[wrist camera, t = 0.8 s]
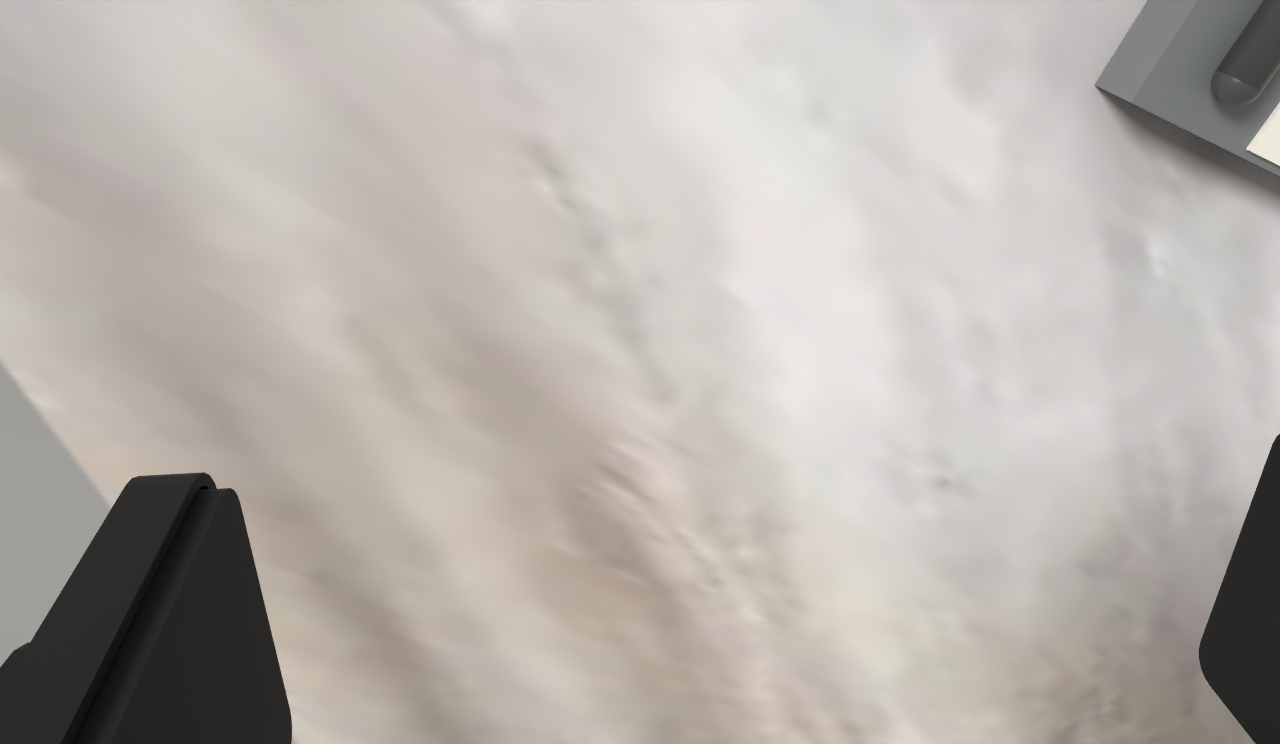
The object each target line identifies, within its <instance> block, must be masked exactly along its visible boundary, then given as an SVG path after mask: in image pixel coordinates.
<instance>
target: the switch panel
mask: <svg viewBox="0 0 1280 744" xmlns="http://www.w3.org/2000/svg"><path fill="white" fill-rule="evenodd" d="M1095 86H1097V87H1099V88H1101V89H1103V90H1105V91H1107V92H1109V93H1111V94H1113V95H1115V96H1117V97H1119V98H1121V99H1123V100H1126V101H1128V102H1130V103H1132V104H1134V105H1136V106H1138V107H1140V108H1142V109H1144V110H1146V111H1148V112H1150V113H1152V114H1154V115H1156V116H1158V117H1160V118H1162V119H1164V120H1166V121H1168V122H1170V123H1172V124H1174V125H1176V126H1178V127H1180V128H1182V129H1184V130H1186V131H1188V132H1190V133H1192V134H1194V135H1196V136H1198V137H1200V138H1202V139H1204V140H1206V141H1208V142H1210V143H1212V144H1214V145H1216V146H1218V147H1220V148H1222V149H1224V150H1226V151H1228V152H1230V153H1232V154H1234V155H1236V156H1238V157H1240V158H1242V159H1244V160H1246V161H1248V162H1251V163H1253V164H1255V165H1257V166H1259V167H1261V168H1263V169H1265V170H1267V171H1269V172H1271V173H1273V174H1275V175H1277V176H1279V177H1280V0H1148V2H1147V3H1146V5H1145V7H1144V8H1143V10H1142V11H1141V13H1140V14H1139V16H1138V18H1137V19H1136V21H1135V22H1134V24H1133V26H1132V27H1131V29H1130V30H1129V32H1128V33H1127V35H1126V37H1125V38H1124V40H1123V41H1122V43H1121V45H1120V46H1119V48H1118V49H1117V51H1116V52H1115V54H1114V56H1113V57H1112V59H1111V60H1110V62H1109V64H1108V65H1107V67H1106V68H1105V70H1104V71H1103V73H1102V75H1101V76H1100V78H1099V79H1098V81H1097V83H1096V84H1095Z"/></svg>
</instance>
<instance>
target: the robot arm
mask: <svg viewBox="0 0 1280 744" xmlns="http://www.w3.org/2000/svg"><path fill="white" fill-rule="evenodd" d="M1199 660H1200V665H1201V669H1202V671H1203V674H1204V676H1205V679H1206V680H1207V682H1208V683H1209V685H1210V686H1211V688H1212V689H1213V690H1214V691H1215V693H1216V694H1217V695H1218V696H1219V698H1220V699H1221V700H1222V702H1223V703H1224V704H1225V705H1226V707H1227V708H1228V709H1229V710H1230V712H1231V713H1232V714H1233V716H1234V717H1235V718H1236V719H1237V721H1238V722H1239V723H1240V724H1241V726H1242V727H1243V728H1244V729H1245V731H1246V732H1247V733H1248V735H1249V736H1250V737H1251V738H1252V740H1253V741H1254V742H1255V743H1256V744H1280V434H1279V435H1278V436H1277V437H1276V439H1275V441H1274V443H1273V444H1272V447H1271V450H1270V453H1269V455H1268V458H1267V461H1266V464H1265V466H1264V469H1263V472H1262V475H1261V477H1260V480H1259V483H1258V486H1257V488H1256V491H1255V494H1254V497H1253V499H1252V502H1251V505H1250V508H1249V510H1248V513H1247V516H1246V518H1245V521H1244V524H1243V527H1242V529H1241V532H1240V535H1239V538H1238V540H1237V543H1236V546H1235V549H1234V551H1233V554H1232V557H1231V560H1230V562H1229V565H1228V568H1227V571H1226V573H1225V576H1224V579H1223V582H1222V584H1221V587H1220V590H1219V593H1218V595H1217V598H1216V601H1215V604H1214V606H1213V609H1212V612H1211V615H1210V617H1209V620H1208V623H1207V625H1206V628H1205V631H1204V634H1203V636H1202V639H1201V642H1200V647H1199ZM291 740H292V721H291V713H290V708H289V704H288V700H287V696H286V691H285V687H284V683H283V679H282V675H281V671H280V667H279V662H278V658H277V654H276V650H275V646H274V642H273V638H272V633H271V629H270V625H269V621H268V617H267V613H266V608H265V604H264V600H263V596H262V592H261V588H260V584H259V579H258V575H257V571H256V567H255V563H254V559H253V555H252V550H251V546H250V542H249V538H248V534H247V530H246V525H245V521H244V517H243V513H242V509H241V505H240V501H239V498H238V495H237V494H236V492H235V491H234V490H233V489H231V488H226V489H217V488H216V485H215V483H214V481H213V480H212V478H211V476H210V475H208V474H206V473H187V474H169V475H151V476H138V477H135V478H132V479H131V480H130V481H129V482H128V483H127V485H126V486H125V487H124V489H123V491H122V492H121V494H120V496H119V497H118V499H117V501H116V502H115V504H114V505H113V507H112V509H111V510H110V512H109V514H108V515H107V517H106V519H105V520H104V522H103V524H102V525H101V527H100V529H99V530H98V532H97V533H96V535H95V537H94V539H93V540H92V542H91V544H90V545H89V547H88V548H87V550H86V552H85V553H84V555H83V557H82V558H81V560H80V562H79V563H78V565H77V566H76V568H75V570H74V571H73V573H72V575H71V576H70V578H69V580H68V581H67V583H66V585H65V586H64V588H63V590H62V591H61V593H60V594H59V596H58V598H57V600H56V601H55V603H54V604H53V606H52V608H51V609H50V611H49V613H48V614H47V616H46V618H45V619H44V621H43V622H42V624H41V626H40V627H39V629H38V631H37V632H36V634H35V636H34V638H33V639H32V641H31V642H30V643H26V644H25V645H23V646H21V647H20V648H18V649H16V650H14V651H13V653H12V654H11V655H10V656H9V657H8V659H7V660H6V661H5V662H4V664H3V665H2V666H1V668H0V744H291Z"/></svg>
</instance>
